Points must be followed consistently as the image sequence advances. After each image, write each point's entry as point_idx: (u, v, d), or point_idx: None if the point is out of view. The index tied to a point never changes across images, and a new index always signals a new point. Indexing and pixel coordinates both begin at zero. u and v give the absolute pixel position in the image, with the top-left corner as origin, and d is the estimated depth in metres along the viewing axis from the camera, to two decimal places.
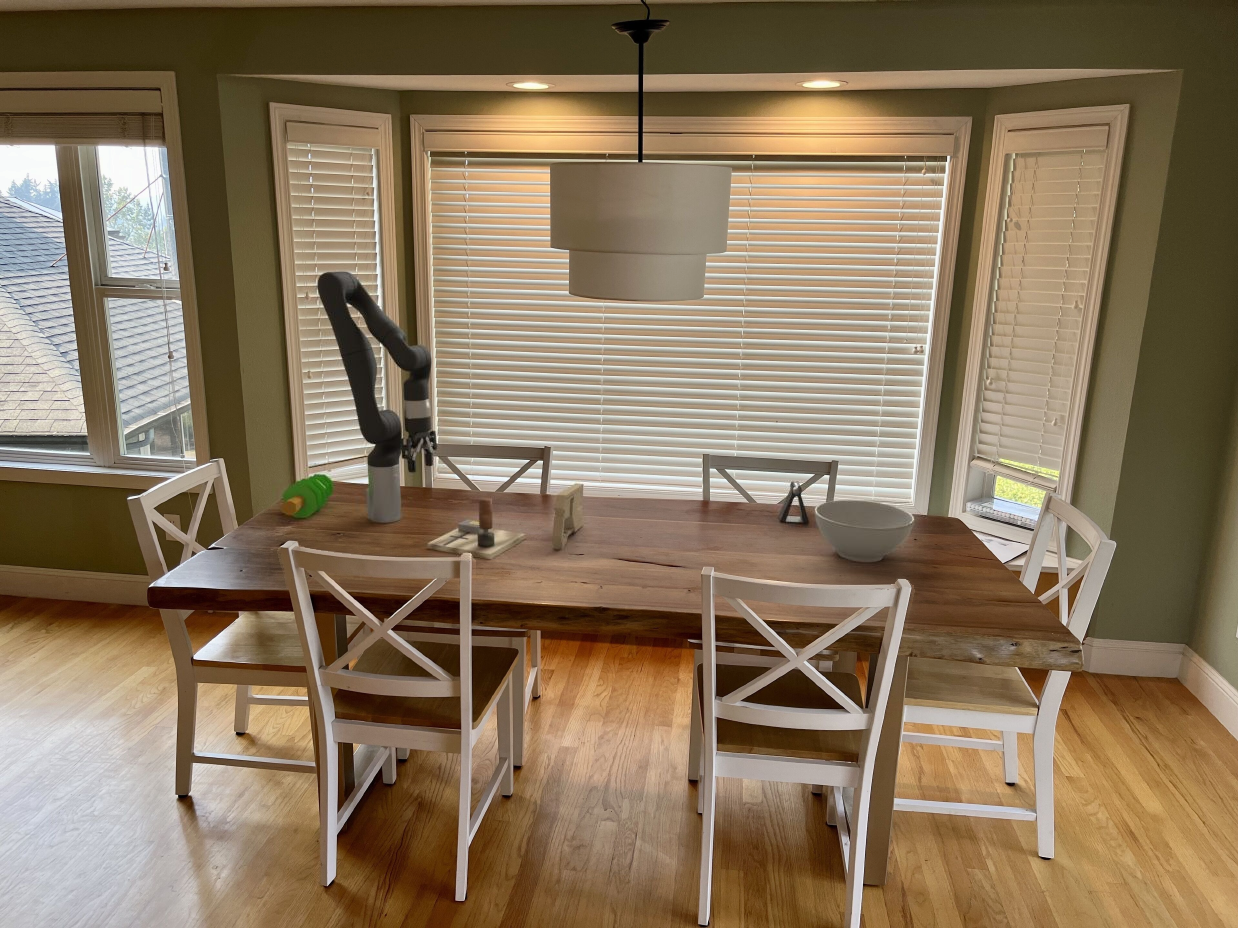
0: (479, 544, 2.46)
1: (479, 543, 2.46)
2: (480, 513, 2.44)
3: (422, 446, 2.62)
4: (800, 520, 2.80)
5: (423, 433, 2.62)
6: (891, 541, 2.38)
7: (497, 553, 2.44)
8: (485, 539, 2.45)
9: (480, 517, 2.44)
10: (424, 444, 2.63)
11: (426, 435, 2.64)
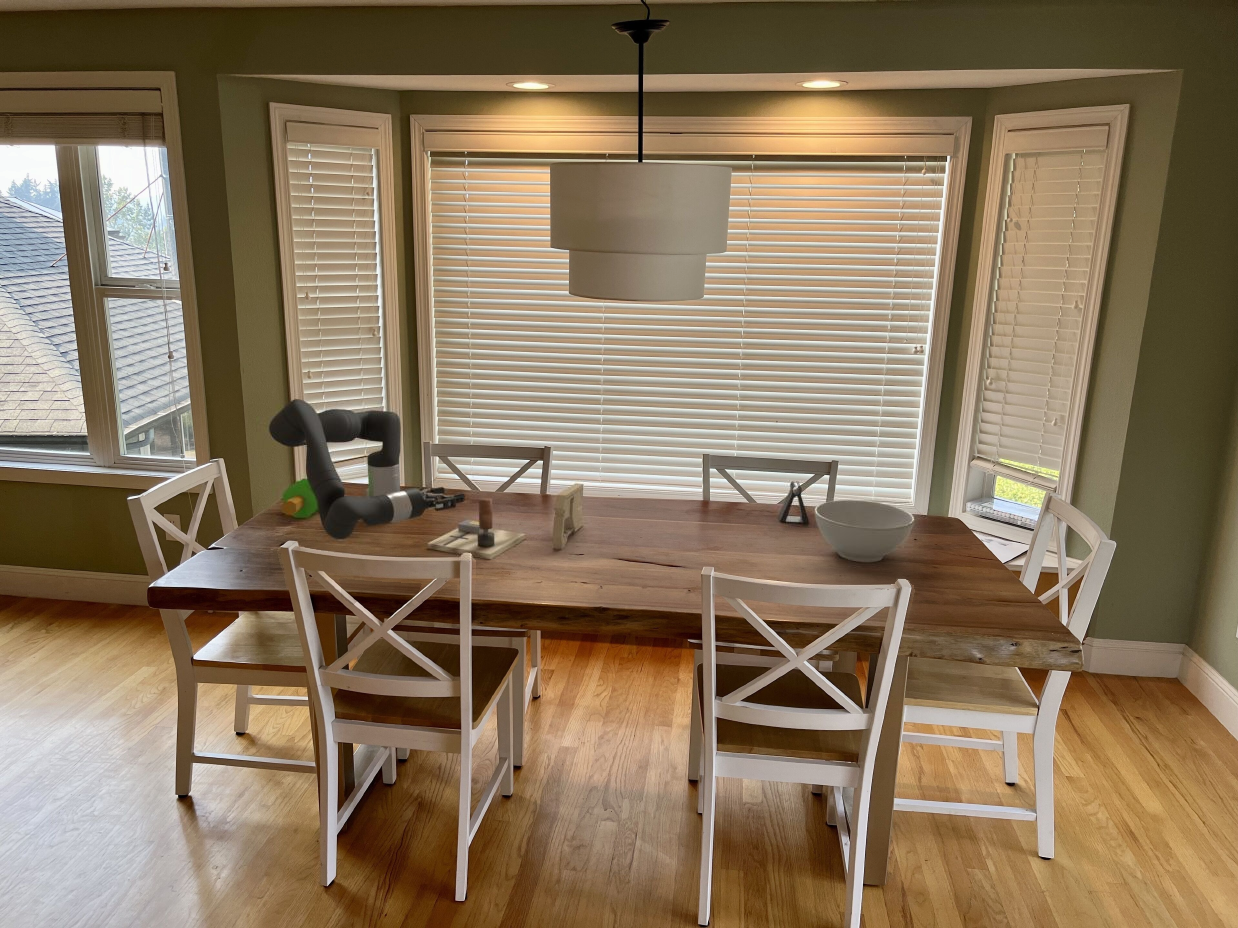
0: (479, 544, 2.46)
1: (479, 543, 2.46)
2: (480, 513, 2.44)
3: None
4: (800, 520, 2.80)
5: None
6: (891, 541, 2.38)
7: (497, 553, 2.44)
8: (485, 539, 2.45)
9: (480, 517, 2.44)
10: None
11: None
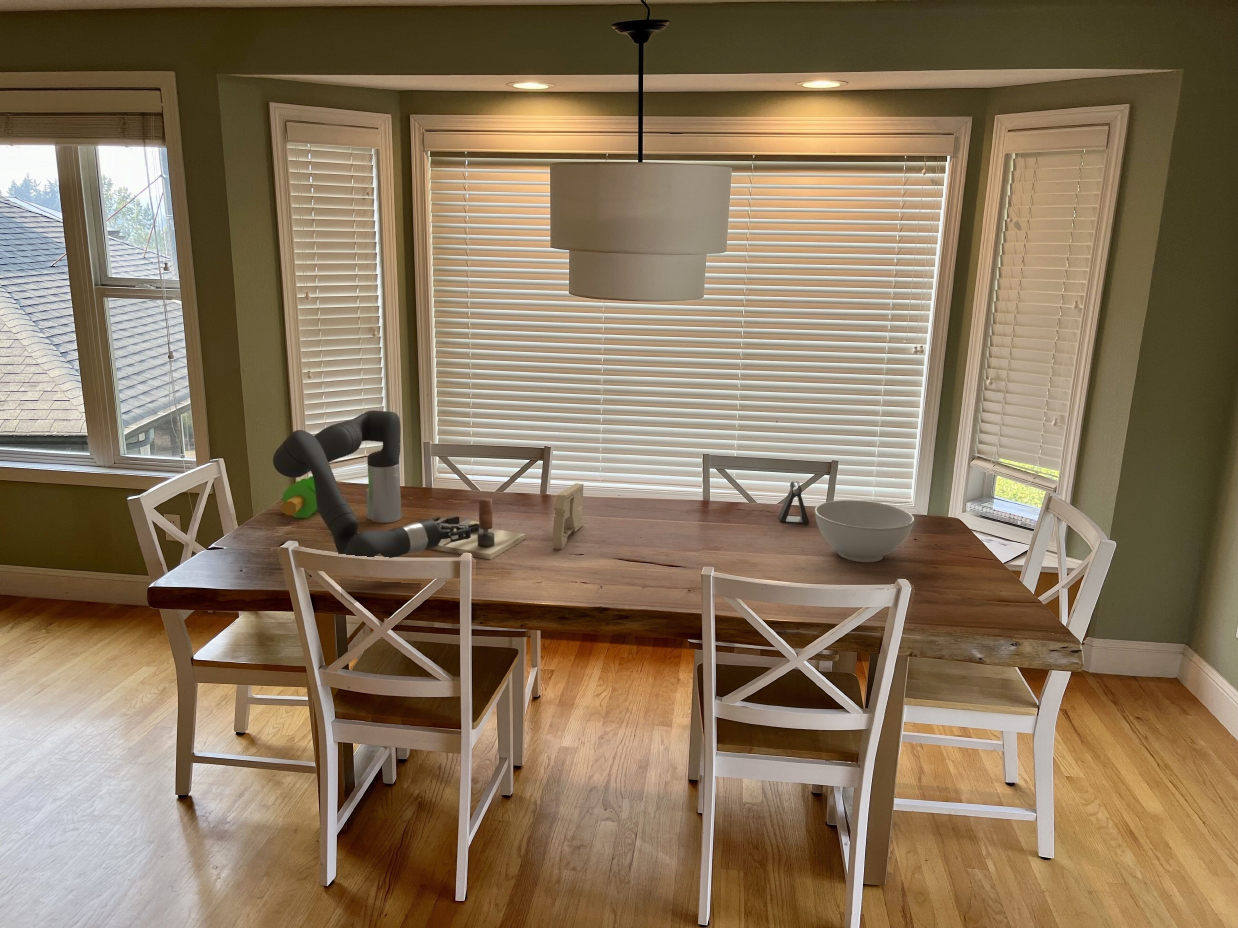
0: (479, 544, 2.46)
1: (479, 543, 2.46)
2: (480, 513, 2.44)
3: None
4: (800, 520, 2.80)
5: None
6: (891, 541, 2.38)
7: (497, 553, 2.44)
8: (485, 539, 2.45)
9: (480, 517, 2.44)
10: (443, 524, 2.36)
11: None
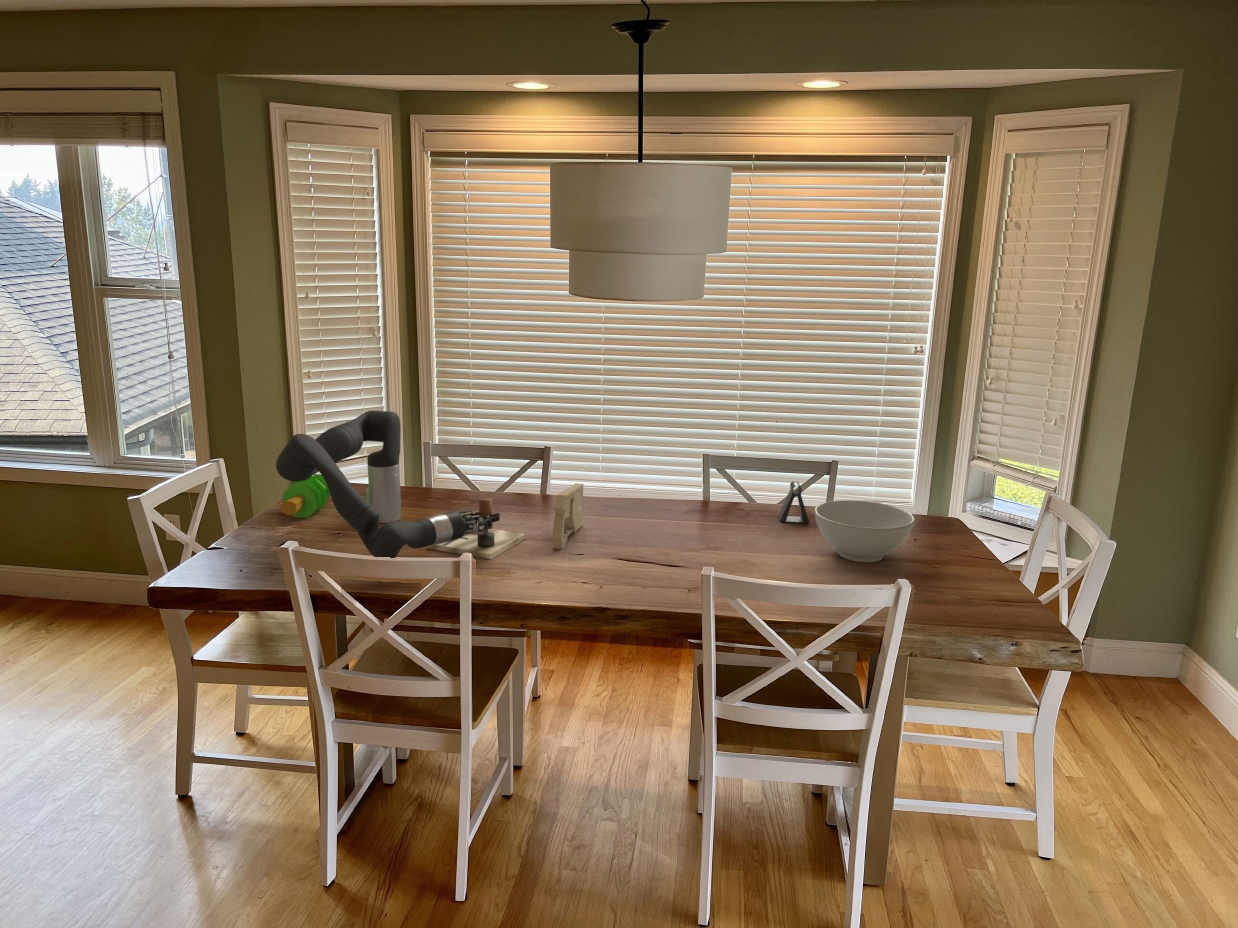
0: (479, 544, 2.46)
1: (479, 543, 2.46)
2: (480, 513, 2.44)
3: None
4: (800, 520, 2.80)
5: None
6: (891, 541, 2.38)
7: (497, 553, 2.44)
8: (485, 539, 2.45)
9: None
10: (467, 516, 2.42)
11: None
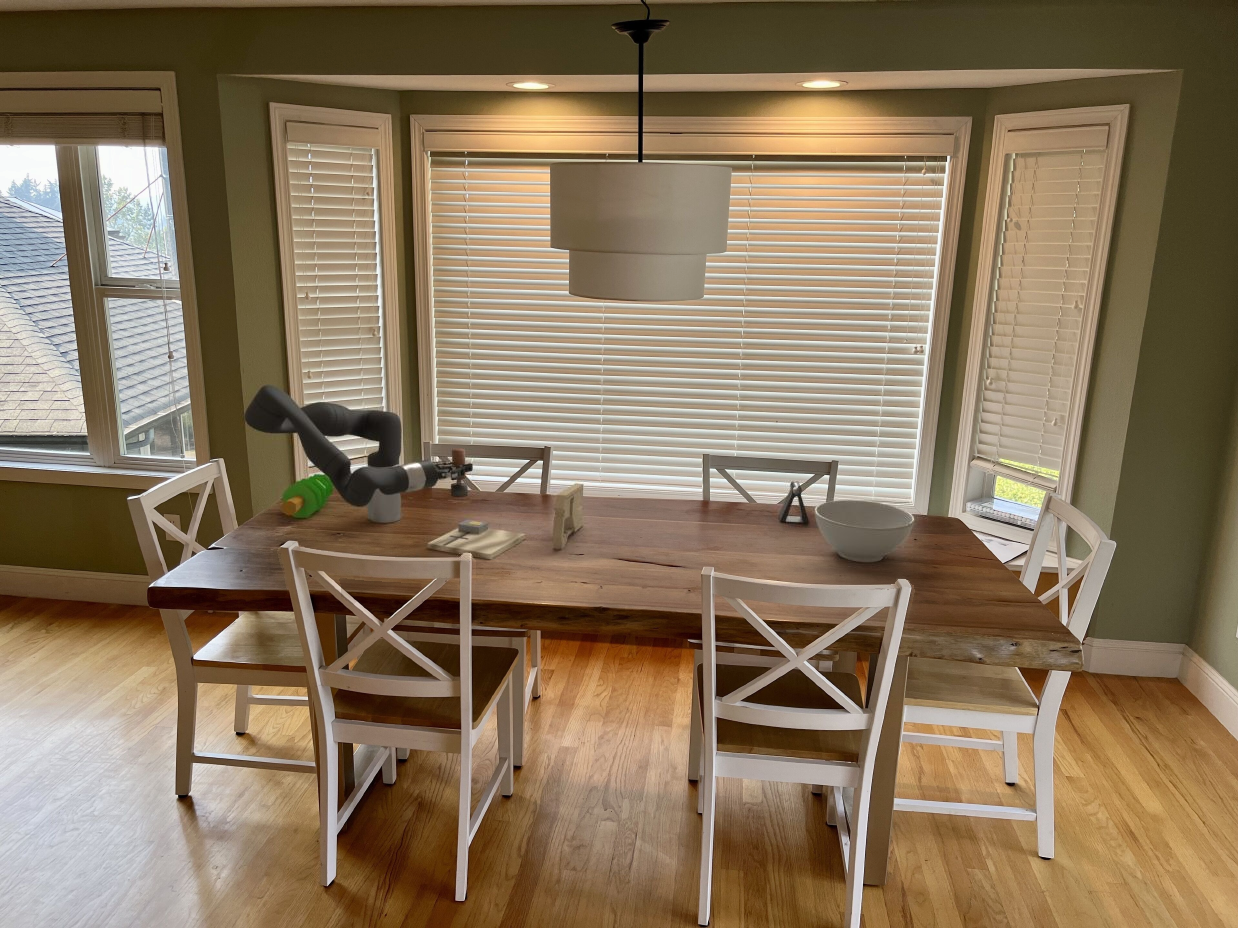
0: (452, 494, 2.49)
1: (452, 493, 2.48)
2: (453, 463, 2.47)
3: None
4: (800, 520, 2.80)
5: None
6: (891, 541, 2.38)
7: (497, 553, 2.44)
8: (458, 489, 2.48)
9: None
10: None
11: None
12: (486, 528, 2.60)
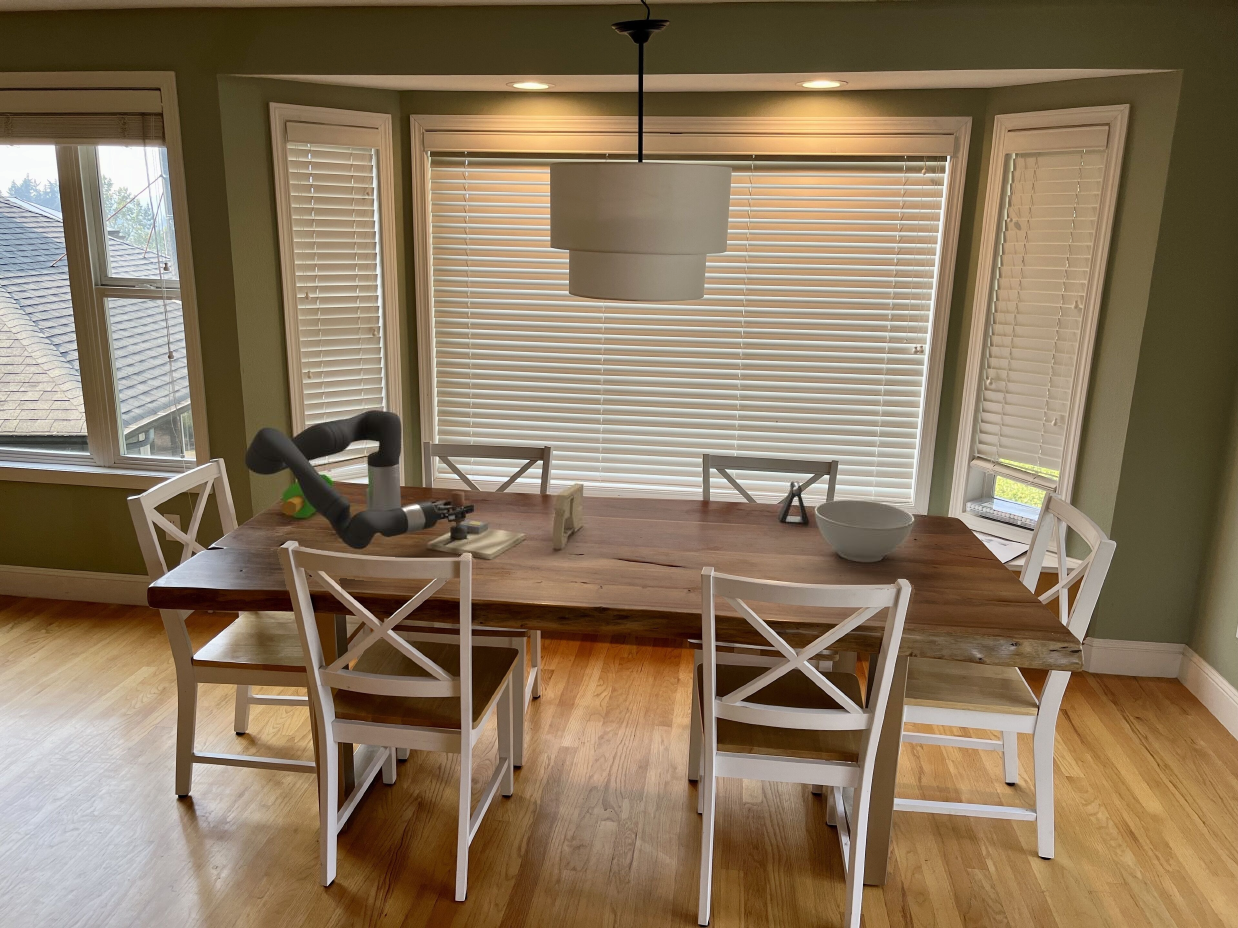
0: (452, 536, 2.51)
1: (452, 535, 2.51)
2: None
3: None
4: (800, 520, 2.80)
5: None
6: (891, 541, 2.38)
7: (497, 553, 2.44)
8: (457, 531, 2.50)
9: None
10: (440, 506, 2.47)
11: None
12: (486, 528, 2.60)
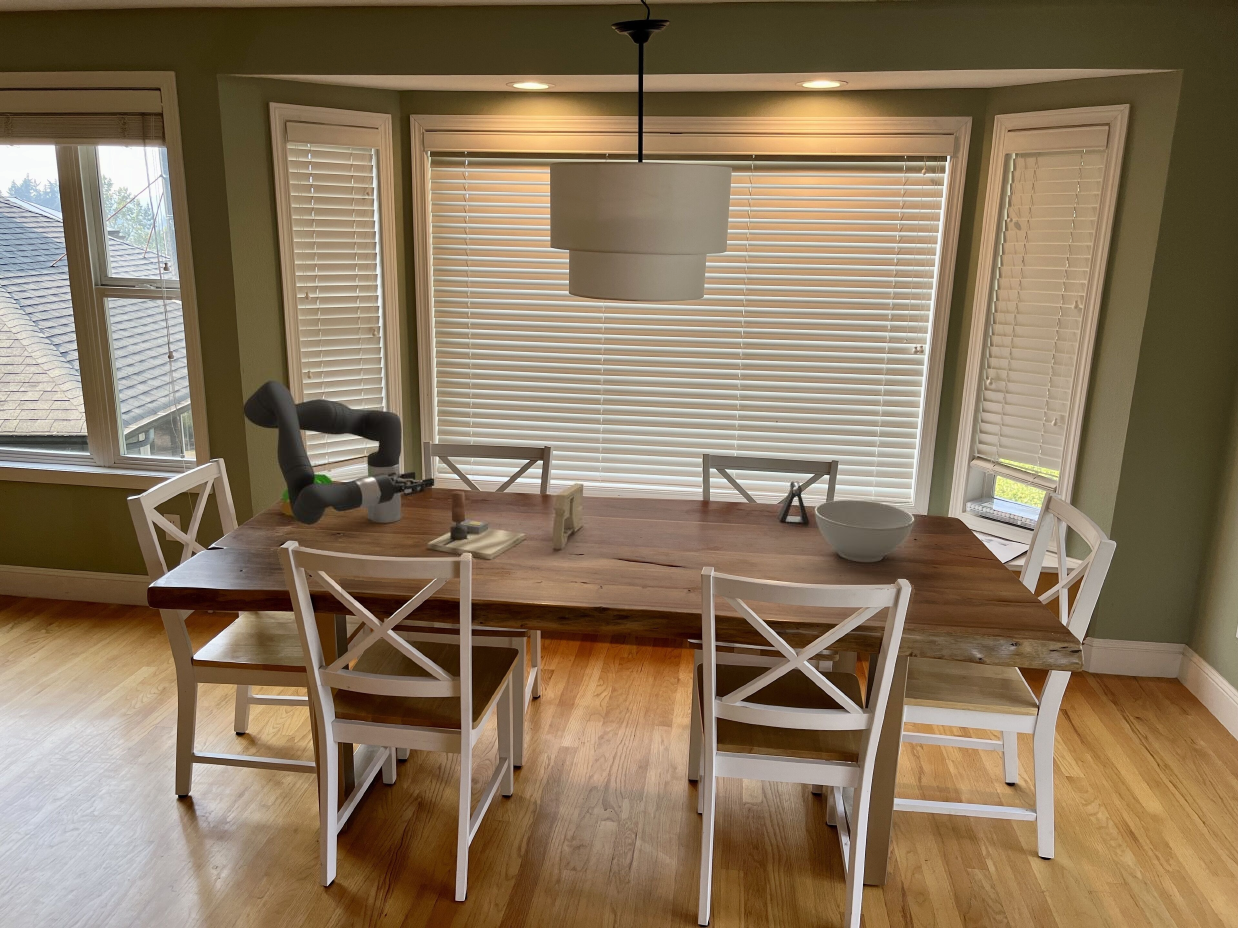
0: (452, 536, 2.51)
1: (452, 535, 2.51)
2: (453, 506, 2.49)
3: None
4: (800, 520, 2.80)
5: None
6: (891, 541, 2.38)
7: (497, 553, 2.44)
8: (457, 532, 2.50)
9: (453, 510, 2.50)
10: None
11: None
12: (486, 528, 2.60)
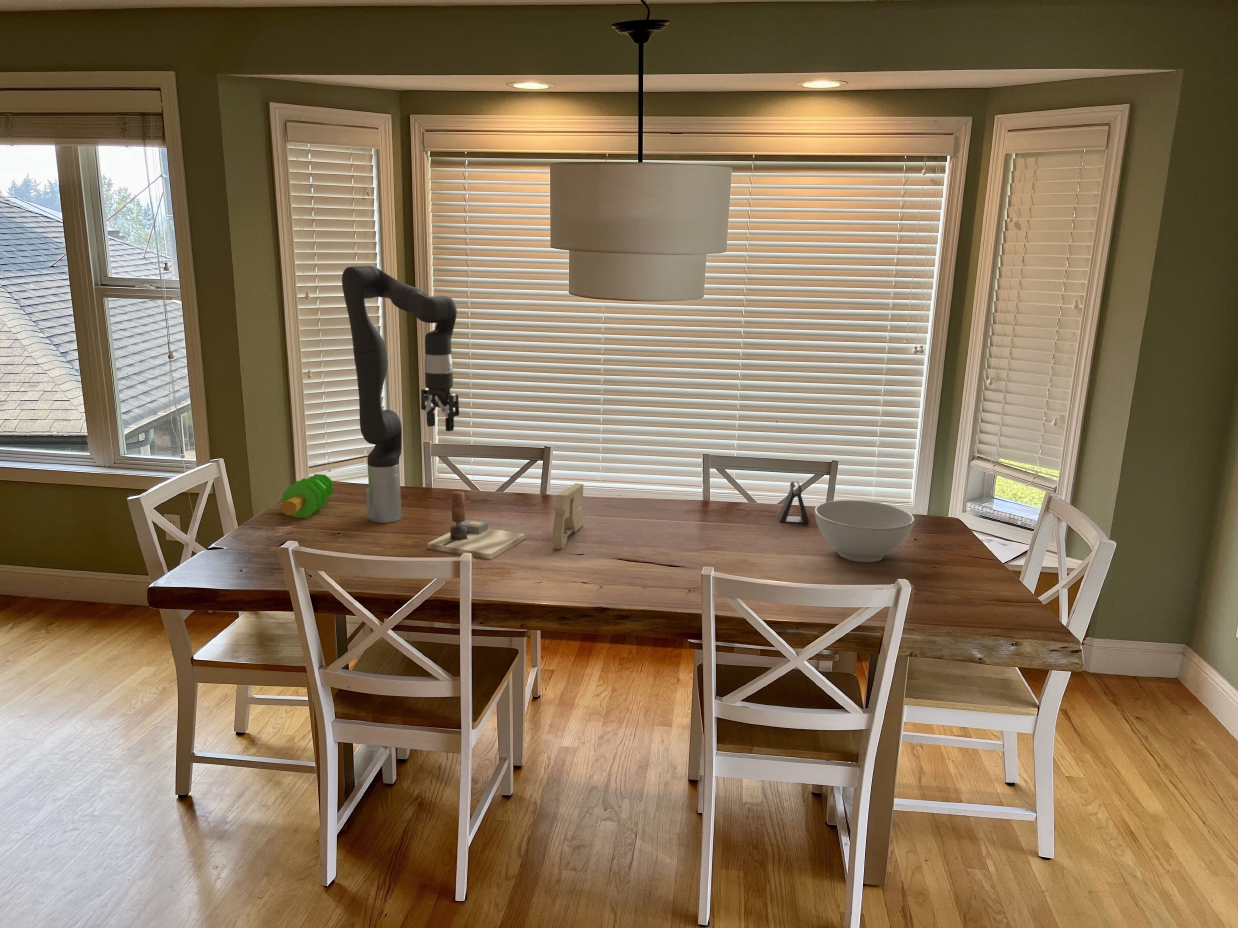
0: (452, 536, 2.51)
1: (452, 535, 2.51)
2: (453, 506, 2.49)
3: None
4: (800, 520, 2.80)
5: None
6: (891, 541, 2.38)
7: (497, 553, 2.44)
8: (457, 532, 2.50)
9: (453, 510, 2.50)
10: None
11: None
12: (486, 528, 2.60)
